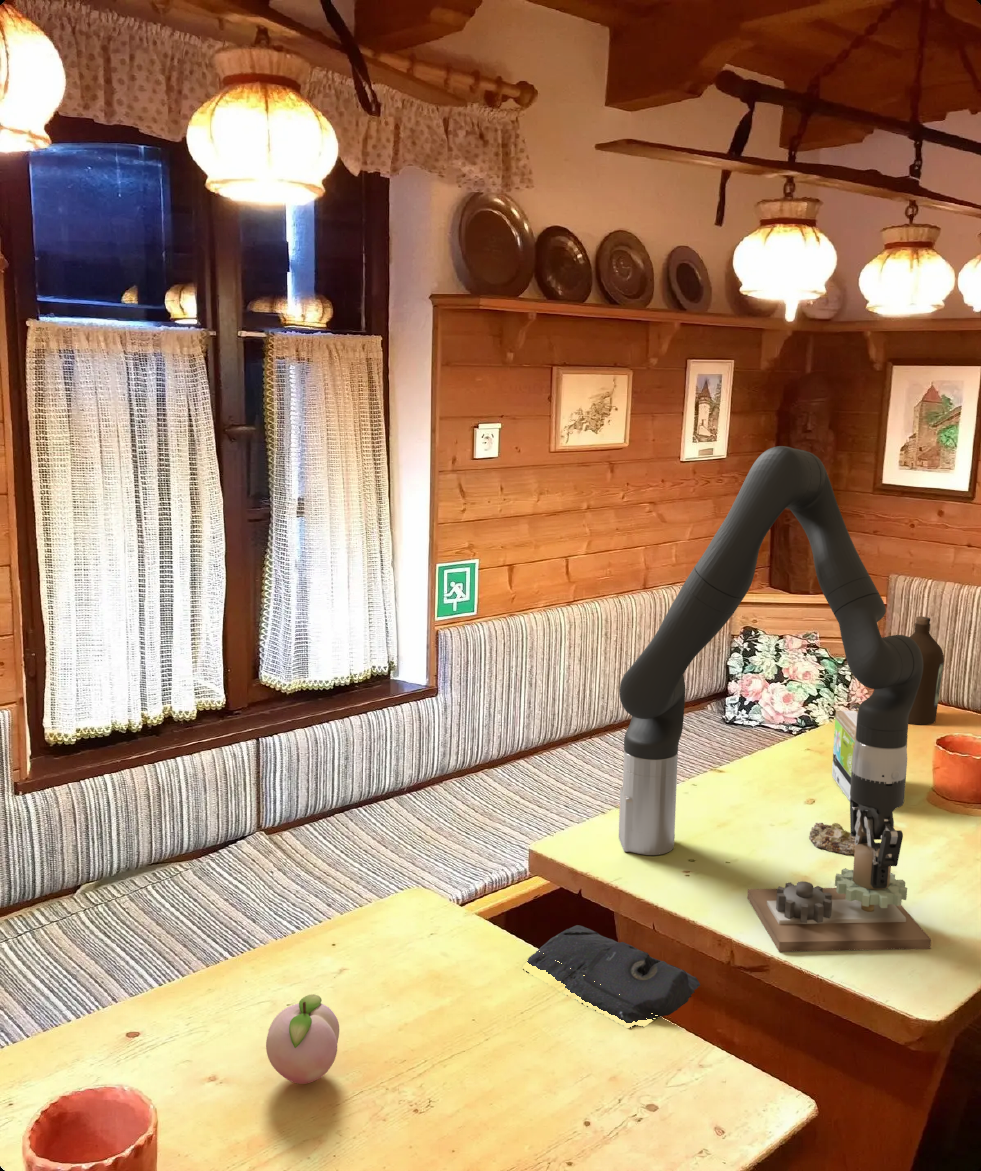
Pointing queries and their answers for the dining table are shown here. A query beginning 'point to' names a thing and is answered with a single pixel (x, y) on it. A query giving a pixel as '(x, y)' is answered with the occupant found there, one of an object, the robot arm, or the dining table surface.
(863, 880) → the planet gear
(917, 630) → the olive oil
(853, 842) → the mineral rock
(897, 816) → the dining table surface
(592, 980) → the dark slate chunk
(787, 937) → the carrier board
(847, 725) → the tea box
